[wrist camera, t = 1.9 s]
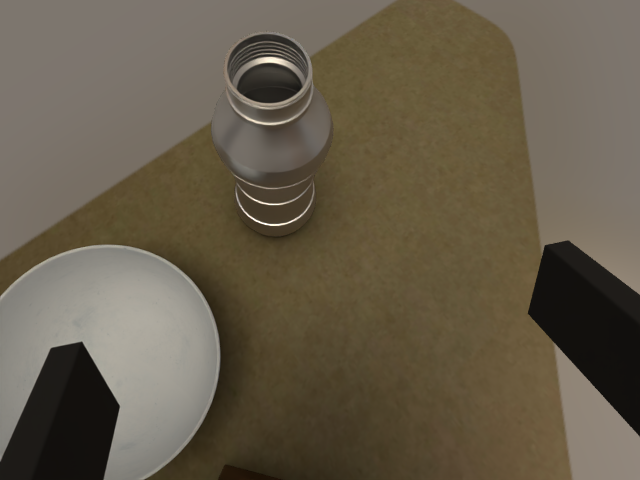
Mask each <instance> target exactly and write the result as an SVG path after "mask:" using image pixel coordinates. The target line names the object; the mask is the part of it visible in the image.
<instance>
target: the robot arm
mask: <svg viewBox="0 0 640 480" xmlns="http://www.w3.org/2000/svg"><path fill="white" fill-rule="evenodd" d="M528 314H529V315H530V316H531V318H532V319H533V320H534V321H535V322H536V323H537V324H538V325H539V326H540V327H541V328H542V330H543V331H544V332H545V333H546V334H547V335H548V336H549V337H550V338H551V339H552V341H553V342H554V343H555V344H556V345H557V346H558V347H559V348H560V349H561V350H562V352H563V353H564V354H565V355H566V356H567V357H568V358H569V359H570V360H571V361H572V363H573V364H574V365H575V366H576V367H577V368H578V369H579V370H580V371H581V372H582V373H583V375H584V376H585V377H586V378H587V379H588V380H589V381H590V382H591V383H592V385H593V386H595V388H596V389H597V390H598V391H599V392H600V393H601V394H602V395H603V397H604V398H605V399H606V400H607V401H608V402H609V403H610V404H611V405H612V406H613V407H614V409H615V410H616V411H617V412H618V413H619V414H620V415H621V416H622V417H623V419H625V421H626V422H627V423H628V424H629V425H630V426H631V427H632V428H633V430H634V431H635V432H636V433H637V434H638V435H639V436H640V295H639V294H638V293H637V292H635V291H634V290H632V289H631V288H630V287H629V286H627V285H626V284H625V283H623V282H622V281H621V280H620V279H618V278H617V277H616V276H614V275H613V274H612V273H610V272H609V271H608V270H606V269H605V268H604V267H602V266H601V265H600V264H598V263H597V262H596V261H594V260H593V259H592V258H591V257H589V256H588V255H587V254H585V253H584V252H583V251H581V250H580V249H579V248H578V247H576V246H575V245H574V244H572V243H571V242H570V241H563V242H559V243H554V244H549V245H545V247H544V251H543V255H542V259H541V263H540V267H539V271H538V275H537V279H536V283H535V287H534V291H533V295H532V299H531V303H530V307H529V311H528ZM119 409H120V405H119V403H118V402H117V400H116V398H115V397H114V395H113V393H112V391H111V390H110V388H109V386H108V385H107V383H106V381H105V380H104V378H103V376H102V374H101V373H100V371H99V369H98V368H97V366H96V364H95V363H94V361H93V359H92V357H91V356H90V354H89V352H88V351H87V349H86V347H85V346H84V344H83V342H82V341H81V342H77V343H72V344H67V345H62V346H57V347H52V348H51V349H50V351H49V353H48V355H47V358H46V360H45V362H44V364H43V367H42V369H41V371H40V373H39V376H38V378H37V380H36V382H35V385H34V387H33V389H32V391H31V394H30V396H29V398H28V400H27V403H26V405H25V407H24V409H23V411H22V414H21V416H20V418H19V420H18V423H17V425H16V427H15V429H14V432H13V434H12V436H11V438H10V441H9V443H8V445H7V447H6V450H5V452H4V454H3V456H2V459H1V461H0V480H104V476H105V471H106V467H107V462H108V458H109V453H110V449H111V445H112V440H113V436H114V431H115V427H116V422H117V418H118V414H119Z"/></svg>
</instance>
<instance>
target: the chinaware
mask: <svg viewBox="0 0 640 480" xmlns="http://www.w3.org/2000/svg"><path fill="white" fill-rule="evenodd" d="M81 341H82V342H83V344H84V346H85V347H86V349H87V351H88V352H89V354H90V356H91V357H92V359H93V361H94V363H95V364H96V366H97V368H98V369H99V371H100V373H101V374H102V376H103V378H104V380H105V381H106V383H107V385H108V386H109V388H110V390H111V391H112V393H113V395H114V397H115V398H116V400H117V402H118V403H119V405H120V409H119V414H118V418H117V422H116V427H115V431H114V436H113V440H112V445H111V449H110V453H109V458H108V462H107V467H106V471H105V476H104V480H144V479H146V478H148V477H150V476H151V475H153V474H154V473H156V472H157V471H159V470H160V469H161V468H163V467H164V466H165V465H167V464H168V463H169V462H170V461H171V460H172V459H174V458H175V457H176V456H177V455H178V454H179V453H180V452H181V451H182V450H183V448H184V447H185V446H186V445H187V444H188V443H189V441H190V440H191V439H192V437H193V436H194V435H195V433H196V432H197V430H198V429H199V427H200V426H201V424H202V422H203V420H204V418H205V417H206V414H207V412H208V410H209V408H210V406H211V403H212V400H213V397H214V394H215V391H216V387H217V383H218V378H219V371H220V340H219V334H218V329H217V325H216V322H215V319H214V316H213V313H212V311H211V309H210V307H209V305H208V303H207V301H206V299H205V297H204V296H203V294H202V293H201V291H200V290H199V288H198V287H197V286H196V285H195V283H194V282H193V281H192V280H191V279H190V278H189V277H188V276H187V275H186V274H185V273H184V272H183V271H181V270H180V269H179V268H178V267H176V266H175V265H173V264H172V263H171V262H169V261H167V260H166V259H164V258H162V257H160V256H158V255H155V254H153V253H151V252H148V251H145V250H142V249H138V248H134V247H129V246H121V245H95V246H87V247H82V248H77V249H74V250H70V251H67V252H64V253H61V254H59V255H56V256H54V257H52V258H49V259H47V260H45V261H44V262H42V263H40V264H38V265H37V266H35V267H33V268H32V269H30V270H29V271H28V272H26V273H25V274H23V275H22V276H21V277H20V278H19V279H17V280H16V281H15V282H14V283H13V284H12V285H11V286H10V287H9V288H8V289H7V290H6V291H5V292H4V293H3V294H2V295H1V296H0V461H1V459H2V456H3V454H4V452H5V450H6V447H7V445H8V443H9V441H10V438H11V436H12V434H13V432H14V429H15V427H16V425H17V423H18V420H19V418H20V416H21V414H22V411H23V409H24V407H25V405H26V403H27V400H28V398H29V396H30V394H31V391H32V389H33V387H34V385H35V382H36V380H37V378H38V376H39V373H40V371H41V369H42V367H43V364H44V362H45V360H46V358H47V355H48V353H49V351H50V349H51V348H52V347H57V346H62V345H67V344H72V343H77V342H81Z"/></svg>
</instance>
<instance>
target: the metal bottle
mask: <svg viewBox="0 0 640 480" xmlns="http://www.w3.org/2000/svg"><path fill="white" fill-rule="evenodd" d="M224 78H225V82H226V90H225V91H224V92H223V93H222V95H221V96H220V98H219V100H218V102H217V104H216V108H215V111H214V115H213V118H212V125H211V133H212V139H213V143H214V146H215V148H216V151H217V153H218V155H219V156H220V158H221V160H222V161H223V163H224V164H225V166H226V167H227V168H228V169H229V171H230V172H231V173H232V175H233V176H234V178H235V180H236V185H235V193H234V202H235V208H236V210H237V213H238V215H239V217H240V218H241V219H242V221H243V222H244V223H245V224H246V225H247V226H248V227H250V228H251V229H253V230H254V231H256V232H258V233H260V234H263V235H266V236H277V237H279V236H284V235H288V234H290V233H293V232H295V231H296V230H298V229H299V228H301V227H302V226H303V225H304V224H305V223H306V222H307V221H308V220H309V218H310V217H311V215H312V213H313V211H314V209H315V204H316V191H315V186H314V182H313V178H314V176H315V173H316V172H317V170H318V169H319V167H320V166H321V164H322V163H323V162H324V160H325V158H326V156H327V153H328V151H329V149H330V147H331V143H332V139H333V121H332V117H331V113H330V110H329V108H328V105H327V103H326V101H325V99H324V97H323V96H322V94H321V93H320V92H319V90H318V89H317V88H316V87H314V86H313V81H312V65H311V61H310V58H309V56H308V54H307V52H306V51H305V49H304V48H303V47H302V46H301V45H300V44H299V43H298V42H297V41H296V40H294V39H292V38H291V37H289V36H286V35H284V34H281V33H277V32H267V31H266V32H265V31H264V32H256V33H253V34H249V35H247V36H245V37H243V38H241V39H240V40H238V41H237V42H236V43H235V44H234V45H233V46H232V47H231V48H230V50H229V51H228V53H227V55H226V58H225V61H224Z"/></svg>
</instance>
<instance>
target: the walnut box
mask: <svg viewBox="0 0 640 480" xmlns="http://www.w3.org/2000/svg"><path fill="white" fill-rule="evenodd" d="M218 480H281V479H278V478H274V477H270V476H266V475H263V474H259V473H255V472H251V471H248V470H244V469H240V468H236V467H232V466H229V465H225V466H224V468H223V470H222V472H221V475H220V477H219V479H218Z"/></svg>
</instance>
